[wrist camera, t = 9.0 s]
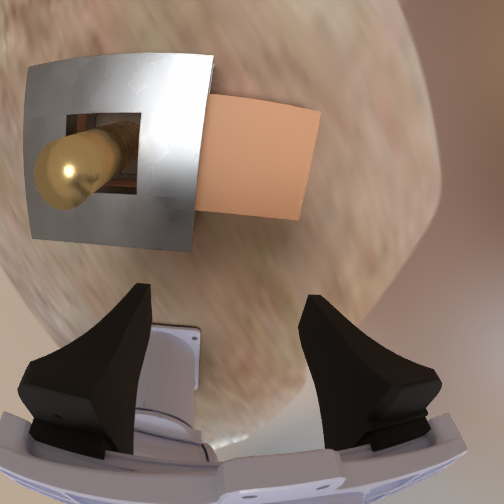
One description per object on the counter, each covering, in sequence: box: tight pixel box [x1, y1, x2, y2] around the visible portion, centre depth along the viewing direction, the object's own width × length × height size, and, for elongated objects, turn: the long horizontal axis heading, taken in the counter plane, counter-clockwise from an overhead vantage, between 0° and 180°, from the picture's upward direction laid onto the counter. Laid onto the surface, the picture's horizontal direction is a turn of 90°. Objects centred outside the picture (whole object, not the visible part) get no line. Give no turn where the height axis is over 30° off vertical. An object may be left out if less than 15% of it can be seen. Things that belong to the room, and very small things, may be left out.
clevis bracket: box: [23, 53, 214, 252], centre depth 15 cm, size 11×11×4 cm
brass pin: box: [34, 121, 140, 210], centre depth 14 cm, size 3×3×9 cm
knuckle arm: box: [77, 94, 321, 221], centre depth 17 cm, size 7×16×3 cm, turn 81°
